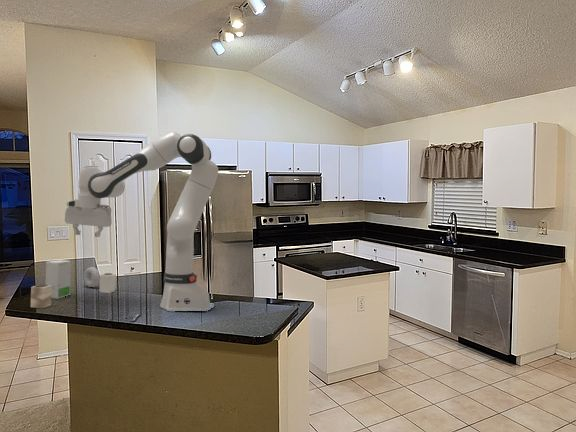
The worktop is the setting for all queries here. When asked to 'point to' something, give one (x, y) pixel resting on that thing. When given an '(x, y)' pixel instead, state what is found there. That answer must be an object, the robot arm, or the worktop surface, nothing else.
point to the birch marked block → (41, 296)
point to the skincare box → (58, 277)
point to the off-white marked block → (107, 282)
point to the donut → (95, 277)
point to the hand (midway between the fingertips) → (87, 235)
